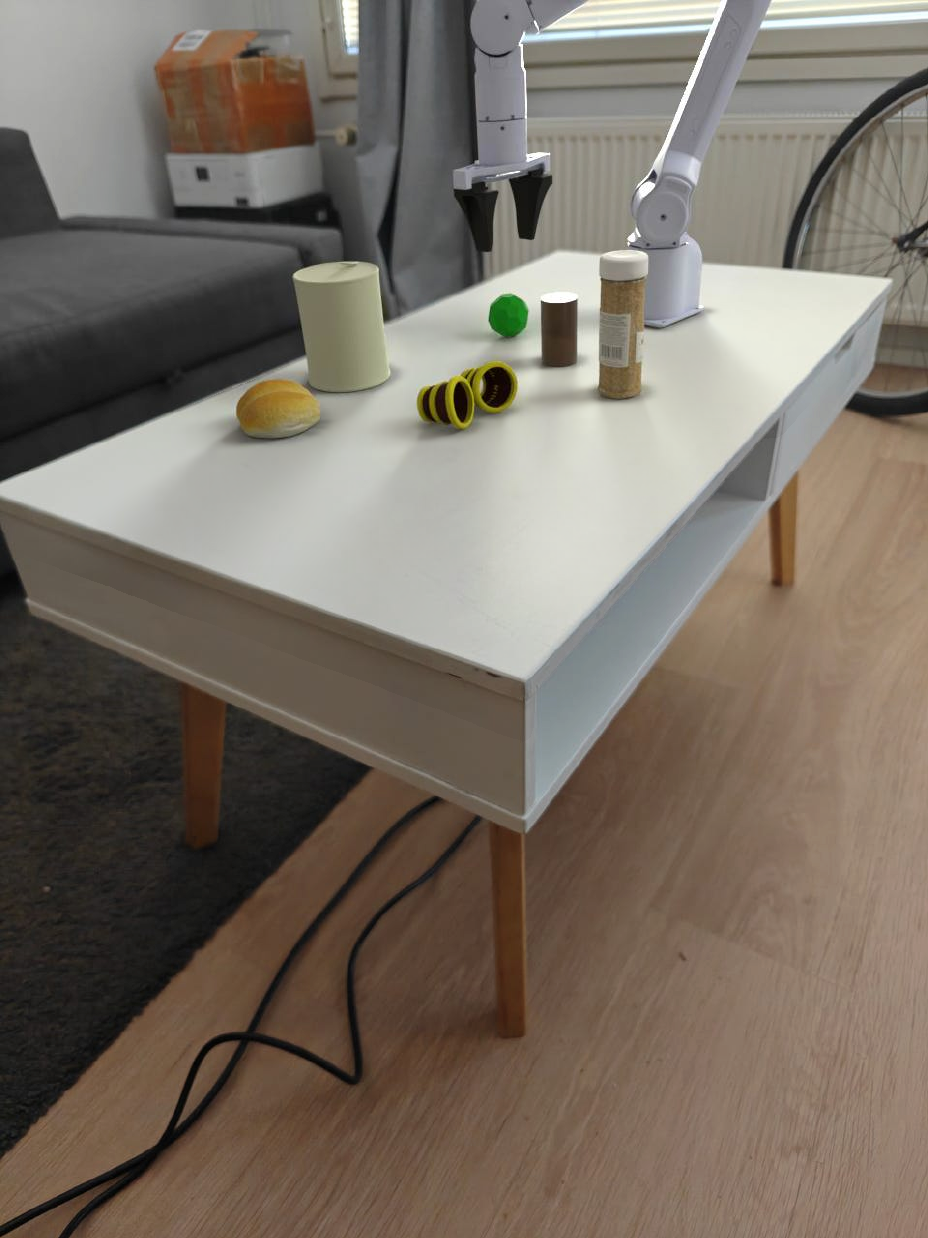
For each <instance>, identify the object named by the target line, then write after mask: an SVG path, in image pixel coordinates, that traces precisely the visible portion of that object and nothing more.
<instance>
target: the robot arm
mask: <svg viewBox="0 0 928 1238" xmlns="http://www.w3.org/2000/svg"><path fill="white" fill-rule="evenodd" d="M588 2H589V0H477V2H476V3H475V5H474V6H473V9H472V11H471V15H470V21H469V24H470V25H469V26H470V33H471V35H472V39H473V40H474V43H475V44H476V46H477V47H475V49H474V50H475V51H474V56H473V58H474V59H473V60H474V66H475V73H474V76H473V77H474V94H475V95H474V96H475V118H476V119H475V120H476V134H477V135H476V136H477V155H478V156H477V157H478V159H477V160H474V163H472V164H470V165H469V164H468V165H466V166H464V167H460V168H456V169H453V170H452V179H453V180H452V181H453V196H454V198H455V200H456V202H457V203H458V205H459V206H460V208H461V210H462V212H463V214H464V216H465V218H466V222H467V224H468V226H469V227H468V228H469V231H470V233H471V236H472V240H473V243H474V246H475V247H474V248H475V250H476V252H483V253H491V252H493V247H494V217H495V209H496V203H497V200H498V197H499V193H500V192H499V190H497V189H489V186H487V184H491V183H492V184H493V183H496V182H501V181H504V180H508V182H509V185H510V188H511V192H512V197H513V200H514V205H515V216H516V229H517V236H518V239H520V240H527V241H533V240H535V237H536V233H537V228H538V224H539V219H540V215H541V210H542V207H543V205H544V202H545V199H546V197H547V194H548V192H549V190H550V188H551V186H552V185H553V174H550V173H547V172H550V171H551V153H550V152H549V153H547V152H536V153H535V152H534V153H529V154H528V130H527V125H528V124H527V83H526V77H527V76H526V70H525V68H524V57H523V55H524V54H523V44H521V43H522V41H523V39H524V37H525V34H526V33H530V34H533V35H538V34H539V33H541V32H543V31H544V30H546V29H547V28H549V27H551V26H552V25H555V23H557V22H559V21H560V20H562V19H563V18H565V17H566V16H568V15H570V14H572V13H573V12H575V11H576V10H578V9H579V8H581V7H583V6H584V5H586V4H587V3H588ZM771 3H772V0H721V2H720V5H719V7H718V9H717V13H716V15H715V18H714V20H713V22H712V25H711V26H710V30H709V31H708V35H707V37H706V40H705V42H704V45H703V47H702V50H701V51H700V55H699V57H698V59H697V62H696V65H695V67H694V70H693V71H692V75H691V77H690V79H689V81H688V85H687V86H686V90H685V91H684V95H683V97H682V99H681V102H680V104H679V107H678V109H677V112H676V114H675V117H674V118H673V122H672V124H671V127H670V129H669V132H668V134H667V137H666V139H665V142H664V144H663V146H662V148H661V150H660V151H659V152H658V155H657V156H656V158H655V160H654V162H653V164H652V166H651V169H650V171H649V173H648V175H646V177H645V178H644V179H643V180H642V181H641V182H640V183H639V184H638V185H637V186H636V187H635V189H634V191H633V193H632V196H631V199H630V212H631V216H632V218H633V220H634V222H635V229H634V231H633V232H632V234H631V235H629V236H628V238H627V250H634V251H641V252H644V253H646V254H647V255H648V274H647V275H646V281H645V296H644V326H645V325H646V326H648V327H649V326H650V327H656V328H665V327H668V326H669V325H672V324H674V323H676V322H680V321H682V320H684V319H686V318H689V317H692V316H693V315H696V314H698V313H700V312H703V311H705V306H704V305H700V294H701V282H702V269H703V253H702V250H701V248H700V245H699V244H698V242H697V241H696V240H695V239H694V238H692V237H691V236H690V235H689V233H688V232H686V231H687V230H688V228H689V225H690V224H691V223H690V222H691V219H692V200H693V196H694V193H695V191H696V189H697V186H698V183H699V179H700V178H699V177H700V173H701V168H702V165H703V161H704V159H705V156H706V154H707V152H708V149H709V147H710V145H711V143H712V140H713V138H714V135H715V133H716V130H717V129H718V127H719V124H720V121H721V119H722V117H723V114H724V112H725V110H726V107H727V105H728V103H729V101H730V98H731V96H732V93H733V91H734V89H735V87H736V84H737V82H738V79H739V77H740V75H741V73H742V70H743V68H744V66H745V64H746V61H747V58H748V56H749V54H750V51H751V50H752V47H753V44H754V42H755V40H756V38H757V35H758V33H759V31H760V29H761V26H762V24H763V22H764V19H765V17H766V15H767V12H768V10H769V7H770V5H771Z"/></svg>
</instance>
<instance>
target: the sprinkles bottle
mask: <svg viewBox="0 0 928 1238" xmlns="http://www.w3.org/2000/svg"><path fill="white" fill-rule="evenodd" d="M598 265H599V267H598V268H599V269H598V273H599V274H598V275H599V277H600V279H599V280H600V301H599V302H600V304H599V306H600V307H599V319H598V321H599V322H598V323H599V324H598V325H599V326H598V328H599V329H598V362H599V366H598V367H599V369H598V373H599V374H598V385H597V392H598V393H599V394H600V395H601V396H603V397H606V398H609V399H622V400H623V399H628V398H633V397H635V396H638V395H640V393H641V392H642V390H643V385H642V373H643V372H642V369H643V368H642V365H643V359H644V335H645V334H644V333H645V325H644V296H645V281H646V275H647V274H648V255H647V254H646V253H644V252H641V251H634V250H628V249H624V250H622V249H620V250H614V251H613V250H612V251H609V252H605V253H603V254H602V255H601V256H600V257H599V264H598Z"/></svg>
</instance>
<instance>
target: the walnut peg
mask: <svg viewBox="0 0 928 1238" xmlns="http://www.w3.org/2000/svg"><path fill="white" fill-rule="evenodd" d="M578 302H579V297H578V295H577V294H575V293H572V292H571V293H570V292H551V293H548V294H545V295H542V296H541V297H540V335H541V337H540V340H541V341H540V342H541V344H540V345H541V363H542V364H543V365H544V366H548V367H554V368H561V367H569V366H572V365H575V364H576V363H577V362H578V320H579V319H578V318H579V317H578V314H579V313H578V311H579V307H578V306H579V305H578V304H579V303H578Z"/></svg>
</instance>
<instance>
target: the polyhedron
mask: <svg viewBox="0 0 928 1238" xmlns="http://www.w3.org/2000/svg"><path fill="white" fill-rule="evenodd" d="M529 312H530V309H529V307H528V305H527V304H526V301H525V300H524V299H523V298H521V297H520V296H517V295H516V294H514V293H503V294H500V295H499V296H497V298H496V299H494V300H493V301H492V302H491V303H490V306H489V311H488V320H487V321H488V324H489V326H490V328H491V330H493V331H494V333H497V334H499V335H500V336H503V337H504V338H511V337H516V336H518V335H519V334H521V333H522V332H523V331H524V330H525V329H526V328H527V323H528V317H529Z"/></svg>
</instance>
